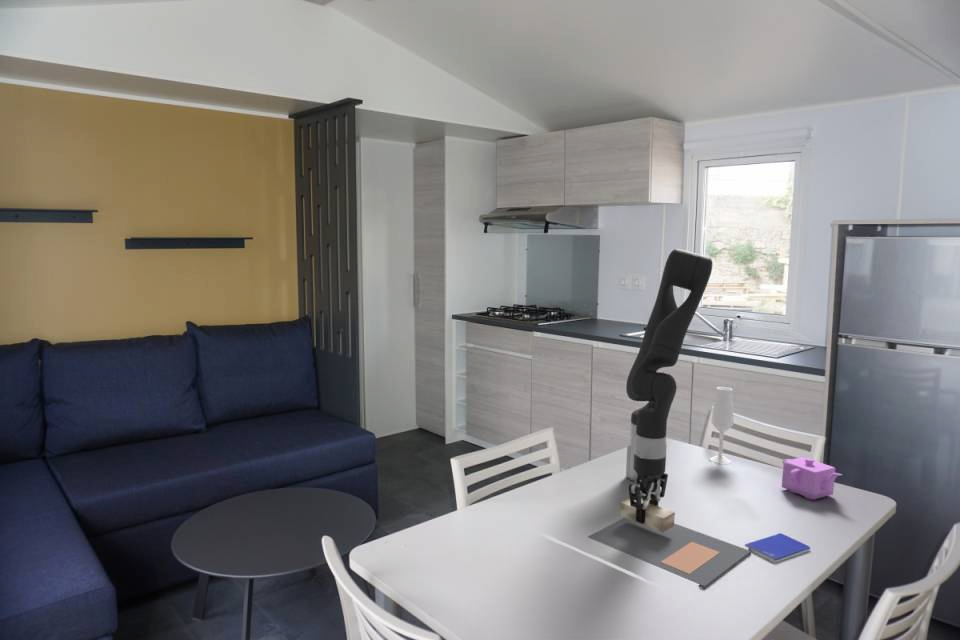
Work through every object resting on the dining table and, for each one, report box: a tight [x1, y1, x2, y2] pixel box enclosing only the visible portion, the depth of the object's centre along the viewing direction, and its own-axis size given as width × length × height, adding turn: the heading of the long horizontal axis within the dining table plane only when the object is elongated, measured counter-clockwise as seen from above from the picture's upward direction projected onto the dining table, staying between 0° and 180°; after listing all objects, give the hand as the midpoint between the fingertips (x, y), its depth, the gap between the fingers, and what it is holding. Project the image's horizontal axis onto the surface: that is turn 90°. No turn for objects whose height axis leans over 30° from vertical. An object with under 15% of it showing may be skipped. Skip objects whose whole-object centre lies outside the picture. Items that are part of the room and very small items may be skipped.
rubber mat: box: [587, 517, 752, 589], centre depth 153 cm, size 30×22×1 cm
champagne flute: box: [709, 386, 734, 465], centre depth 209 cm, size 7×7×24 cm
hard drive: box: [744, 532, 811, 564], centre depth 152 cm, size 2×8×12 cm
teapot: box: [781, 456, 843, 501], centre depth 183 cm, size 18×14×10 cm
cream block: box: [620, 497, 675, 532], centre depth 160 cm, size 12×5×4 cm, turn 43°
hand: (646, 518), depth 160 cm, fingers closed on cream block, 5 cm apart
